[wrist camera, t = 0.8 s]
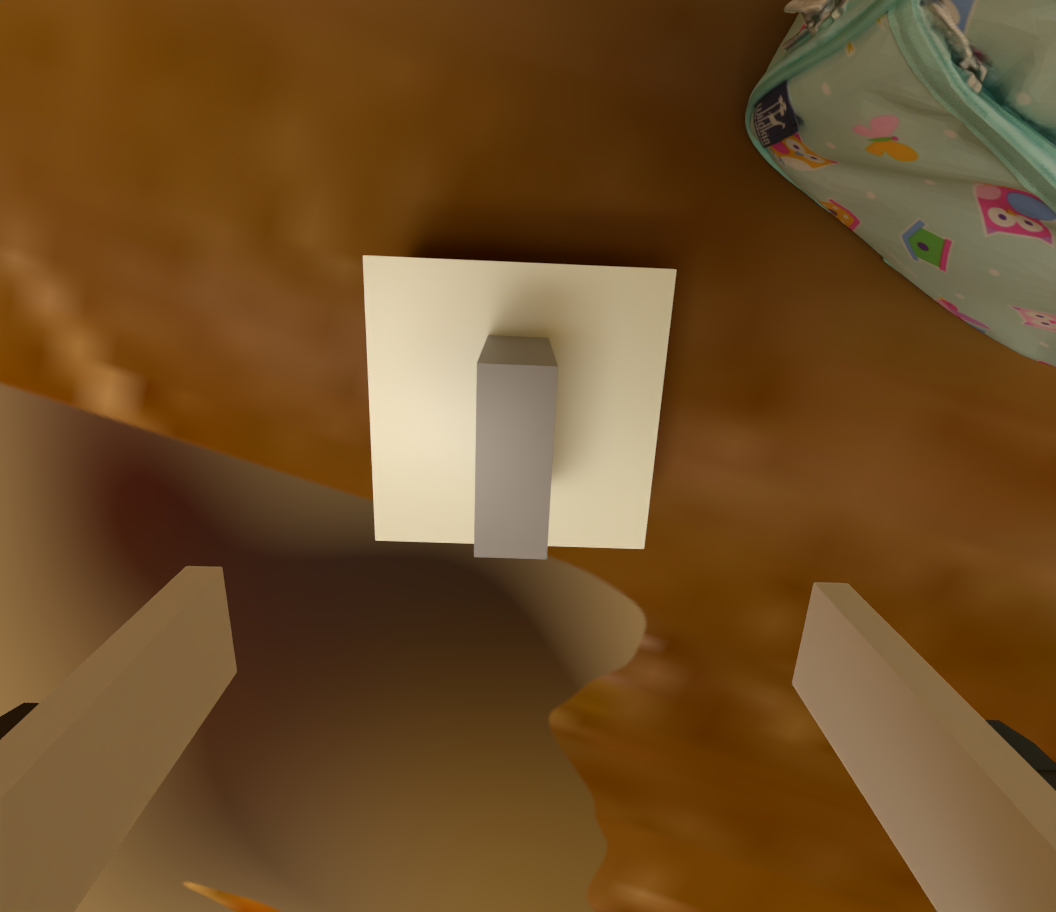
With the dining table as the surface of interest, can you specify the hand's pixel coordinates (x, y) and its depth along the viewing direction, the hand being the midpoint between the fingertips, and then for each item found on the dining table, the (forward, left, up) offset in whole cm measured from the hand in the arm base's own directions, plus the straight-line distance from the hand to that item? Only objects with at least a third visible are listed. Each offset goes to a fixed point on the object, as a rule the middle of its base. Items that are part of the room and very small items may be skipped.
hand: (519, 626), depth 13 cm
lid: (0, 0, -20) cm, 20 cm away
